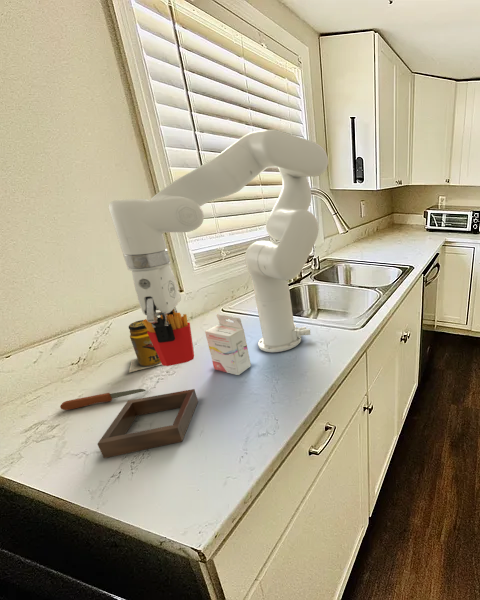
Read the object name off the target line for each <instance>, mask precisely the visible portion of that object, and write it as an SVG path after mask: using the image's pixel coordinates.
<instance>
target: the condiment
mask: <svg viewBox="0 0 480 600" xmlns="http://www.w3.org/2000/svg"><path fill="white" fill-rule="evenodd" d="M143 320H144V319H140V320H135V321H133V322H132V323H130V324H129V325H128V329H129V339H130V341H131V344H132V347H133V350H134V353H135V356H136V358H134V359H131V360H130V366H129V369H128V373H132V372H137V371H140V370H145V369H149V368H154V367H158V366H160V365H162V363H161V361H160V359H159V357H158V354H157V352H156V350H155V348H154V346H153V344H152V342H151V340H150V337H149V335H148V333H147V332H148V330H147V328H146V327H145V325H144V324H143Z"/></svg>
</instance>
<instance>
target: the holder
mask: <svg viewBox="0 0 480 600" xmlns="http://www.w3.org/2000/svg"><path fill="white" fill-rule="evenodd" d="M198 403H199V400H198V395H197V393H196V389H195V388H192V389H187V390H186V389H185V390H181V391H174V392H169V393H164V394H158V395H152V396H147V397H141V398H135V399H134V398H133V399H129V400H127V401H126V403H125V404H124V405H123V407H122V408H121V410H120V411H119V412H118V414H117V415H116V417H115V418H114V420H113V421H112V423H110V425H109V427H108V428H107V429H106V431H105V432H104V433H103V435H102V436H101V438H100V439H99V441H98V442H97V446H98V449H99V451H100V453H101V455H102V458H103V459H108V458H112V457H117V456H120V455H126V454H131V453H136V452H140V451H144V450H150V449H153V448H159V447H162V446H163V447H164V446H167V445H173V444H177V443H182V442H183V440H184V438H185V435H186V433H187V430H188V428H189V426H190V423H191V421H192V419H193V415H194V413H195V411H196V408H197V405H198ZM174 409H175V410H176V409H179V410H178V412H177V414H176V417H175V418H174V421H173V423H172V424H169V425H166V426H160V427H156V428H155V427H154V428H150V429H145V430H140V431H136V432H131V433H128V431H129V430H130V428H131V426H132V425H133V423H134V421H135V420H136V418H137V417H138V416H143V415H148V414H153V413H159V412H164V411H170V410H174Z"/></svg>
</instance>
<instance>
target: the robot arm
mask: <svg viewBox="0 0 480 600" xmlns="http://www.w3.org/2000/svg"><path fill="white" fill-rule="evenodd" d="M328 166H329V157H328V154H327V152H326V150H325V149H324V148H323V146H321V145H320V144H319V143H317V142H315V141H313V140H309V139H306V138H303V137H300V136H297V135H294V134H291V133H287V132H285V131H281V130H278V129H263V130H255V131H252V132H248V133H246V134H245V135H243V136H242V137H240V138H239V139H237V140H236V141H235V142H233V143H232V144H230V146H228V147H227V148H225V149H224V150H223V151H221V152H220V153H219V154H217V155H216V156H214V157H213V158H212V159H210V160H209V161H207V162H205V163H203V164H201V165H200V166H198V167H196V168H195V169H193V170H191V171H190V172H188V173H185V174H184V175H182V176H181V177H179V178H177V179H176V180H174V181H173V182H171V183H170V184H168V185H167V186H165V187H164V188H163V189H161V190H160V191H158V192H157V193H156V194H155V195H154V196H152V197H151V198H150V199H147V198H123V199H114V200H112V201H110V202H109V203H108V211H109V215H110V218H111V221H112V224H113V227H114V230H115V233H116V236H117V239H118V242H119V246H120V249H121V252H122V255H123V258H124V262H125V265H126V267H127V270H128V271H129V272H131V274H132V280H133V285H134V289H135V293H136V297H137V301H138V304H139V307H140V309H141V312H142V314H143V315H145V316H146V320H147V321H148V322H150V323H151V324H152V326H153V328H154V330H155V333H156V336H157V340H158V342H159V343H162V342H170V341H174V340H175V336H174V333H173V329H172V326H171V324H169V322H168V317H167V315H168V316H169V315H170V314H172V315H173V317H174V314H173V313H178V309H177V306H178V304H179V303H180V302H181V300H182V296H181V295H182V294H181V291H180V289H179V286H178V283H177V279H176V277H175V274H174V271H173V269H172V267H171V265H172V263H171V262H172V261H171V259H170V255H169V251H168V248H167V244H166V240H165V237H164V233H189V232H194V231H195V230H197V229H199V228H200V227H201V226H202V224H203V222H204V220H205V219H204V218H205V215H204V211H203V209H202V206H204V205H206V204H207V203H209V202H213V201H214V200H217V199H221V198H225V197H228V196H231V195H234V194H236V193H239V192H240V191H241V190H242V189H244V188H245V187H246V186H247V185H248V184H250V183H251V182H252V181H253V180H255V178H257V177H258V176H259V175H261V174H262V173H263V172H264V171H266V169H270V168H277V169H278V171H279V173H280V177H281V180H282V189H281V191H280V193H279V196H278V199H277V200H276V202H275V204H274V206H273V208H272V210H271V212H270V214H269V216H268V217H267V220H266V222H265V223H266V224H265V230H266V232H267V235H268V236H270V237H271V238H272V239H274V240H275V241H269V240H258V241H257V240H256V241H255V242H253V243H250V245H249V246H248V247H247V248H246V250H245V254H244V262H245V265H246V269H247V273H248V274H249V277H250V280H251V284H252V287H253V291H254V292H253V293H254V298H255V303H256V309H257V314H258V319H259V324H260V325H259V326H260V331H261V336H262V337H260V339H259V340H258V343H257V345H258V349H259V350H261V351H263V352H267V353H281V352H285V351H289V350H291V349H294V348H295V347H297V346H298V345H299V344H300V343H301V342H302V336H311V335H312V334H311V328H307V327H306V326H301V327H298V326H296V323H295V321H294V313H293V306H292V301H291V293H290V286H289V282H288V281H290V280H293V279H295V278H297V277H298V276H299V274H301V272H302V270H303V268H304V267H305V265H306V263H307V261H308V259H309V256H310V255H311V252H312V250H313V248H314V246H315V243H316V242H317V239H318V235H319V222H318V219H317V217H316V216H315V215H314V213H312V212H311V211H309V208H310V206H311V202H312V189H311V186H310V182H309V179H308V177H310V178H315V177H319V176H321V175H323V174H324V173H325V172H326V171H327V169H328ZM276 240H277V241H279V242H276ZM160 315H162V317H163V319H162V318H161V317H160Z"/></svg>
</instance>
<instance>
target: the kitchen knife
mask: <svg viewBox="0 0 480 600" xmlns="http://www.w3.org/2000/svg"><path fill="white" fill-rule="evenodd" d="M143 392H146V389H144V388H136V389H129V390H124V391H118V392H111V393H110V392H106V393H100V394H95V395H90V396H89V395H88V396H85V397H80V398H75V399H74V398H73V399H69V400H66V401H63V402H61V404H60V405H59V407H60V410H63V411H69V410H70V411H71V410H75V409H79V408H84V407H86V406H91V405H95V404H99V403H100V404H101V403H106V402H107V403H108V402H111V401H112V400H113V399H117V398H122V397H126V396H131V395H135V394H139V393H143Z"/></svg>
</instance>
